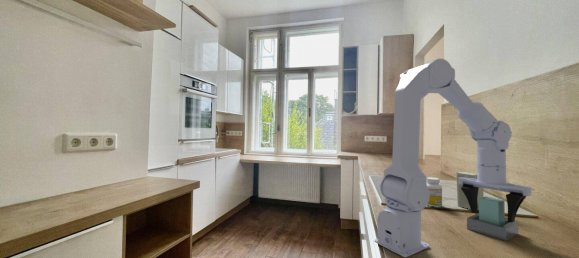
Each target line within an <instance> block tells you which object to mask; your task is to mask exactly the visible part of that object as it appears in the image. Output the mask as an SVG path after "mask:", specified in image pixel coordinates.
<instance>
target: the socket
mask: <svg viewBox="0 0 579 258" xmlns="http://www.w3.org/2000/svg"><path fill="white" fill-rule="evenodd" d="M466 230H470V231H472V232H476V233H479V234H483V235H486V236H489V237H492V238H495V239H498V240H500V241H501V240H502V241H505V242H508V241H509V240H510V239H513V237H516V236H517V235H518V234H519V222H518V221H516V220H515V221H514V222H512V223H511V222H508V218H505V225H504V226H499V225H495V224H492V223H488V222H484V221H481V220H479V212H478V213H474V214H473V215H471V216H467V217H466Z"/></svg>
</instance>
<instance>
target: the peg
mask: <svg viewBox="0 0 579 258" xmlns="http://www.w3.org/2000/svg"><path fill="white" fill-rule="evenodd" d="M505 205H506V204H505V199H500V198H495V197H490V196H483V197H482V198H479V211H478V213H479V220H481V221H484V222H488V223H492V224H495V225H499V226H504V225H505V219H506V216H505V215H506V214H505V213H506V212H505V207H506V206H505Z"/></svg>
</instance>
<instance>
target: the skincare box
mask: <svg viewBox="0 0 579 258" xmlns="http://www.w3.org/2000/svg"><path fill="white" fill-rule="evenodd" d="M455 173H456V174H455V176H456V194H457V197H456V198H457V206H458V207H460V208H463V207H464V209H467V208H468V210H470V205H469V203H468V200H467V198H466V196H465V194H464V193H463V191H462V190H461V187H463V185H461V184H458V178H459V177H465V178H474V179H477V173H475V172H470V171H460V172H459V171H457V172H455ZM482 197H484V188H481V187H479V190H478V197H477V204H478V210H479V198H482ZM478 210H477V212H479V211H478Z"/></svg>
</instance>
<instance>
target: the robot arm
mask: <svg viewBox="0 0 579 258" xmlns="http://www.w3.org/2000/svg"><path fill="white" fill-rule="evenodd" d="M428 94H438V95H440V96H441V97H442V98H443V99H445V100H446V101H447V102H448V103H449V104H450V105H451V106H453V107H455V109H456V110H457V117H458V118H459V120H461V121H462V123H464V124H465V125H466V126H467V127H468V130H469V133H470V137H471V139H473V141H475V142H476V168H477V169H476V170H477V171H476V172H477V173H476V174H477V179H474V178H465V177H459V178H458V184H461V185H463V187H461V190H462V191H463V193H464V194H465V196H466V198H467V200H468V203H469V205H470V209H471V210H470V209H469V210H470V213H472V214H476V213H477V212H478V211H477V210H478V204H477V197H478V190H479V187H481V188H483V189H487V190H492V191H499V192H505V193H507V194H505V199H506V204H507V220H508V222H511V223H512V222H514V221H515V222H516V216H517V213H518V210H519V209H520V207H521V205H522V204H523V202H524V201H525V200H526V198H527V197H530V196H532V187H531V186H530V187H529V186H525V185H524V186H523V185H520V184H515V183H510V182H507V164H506V163H507V162H506V161H507V159H506V158H507V156H506V155H507V153H506V150H508V148H509V147H510V146H509V143H510V142H509V141H510V140H511V138H512V134H513V132H512V131H511V130H512V129H511V127H510V124H508V123H506V122H505V121H503V120H498V119H497V118H496V117H495V116H494V115H493V114H492V113H491V111H489V109H487V107H485V106H484V104H483V103H482V102H481V101H472V99H470V97H469V96H468V94H467V92H465V90H464V89H463V88H462V87H461V85H460V84H459V82H458V81H457V80H456V70H455V68H453V67H452V65H451V64H450V62H449V61H448V60H447V59H445V58H437V59H434V60H432V61H430V62H427V63H424V64H422V65H419V66H416V67H413V68H409V69H407V70H405V71H403V73H400V75H399V83H398V85H397V87H396V89H395V92H394V108H393V111H394V112H393V131H392V132H393V133H392V134H393V136H392V162H391V165H389V166H388V167H386V168H385V169H384V170H383V176H382V179H381V181H380V184H379V190H380V194H381V195H382V197H383V198H384V202H385V203H386V206H385V208H384V209H383V210H381V211H380V212H379V213H378V215H377V221H376V222H377V238H376V239H374V243H376V244H378V245H380V246H381V247H384V248H386V249H387V250H389V251H391V252H393V253H395V254H396V255H399V256H401V257H403V258H408V257H410V256H412V255H415V254H417V253H419V252H421V251H423V250H425V249H428V248H430V244H429V243H427V242H425V241H423V240H422V217H421V216H422V211H424V208H426V206H428V205H427V204H428V201H429V196H430V194H429V190H428V187H427V178H428V177H427V176H426V174H425V173H424V172H423V171H422V169H420V167H419V159H420V157H419V155H420V154H419V152H420V130H421V129H420V127H421V102H422V101H421V100H422V99H423V98H425V97H426V96H427V95H428Z"/></svg>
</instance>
